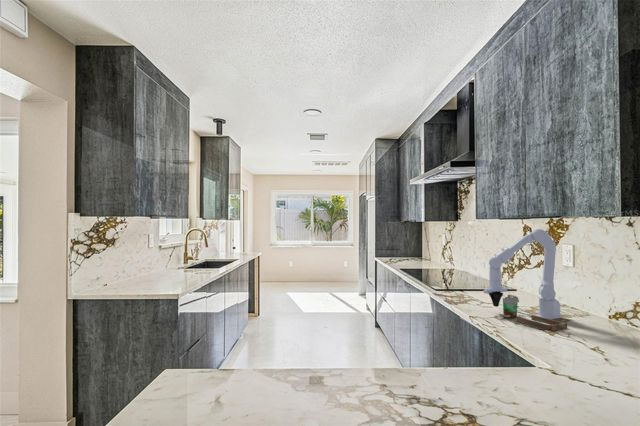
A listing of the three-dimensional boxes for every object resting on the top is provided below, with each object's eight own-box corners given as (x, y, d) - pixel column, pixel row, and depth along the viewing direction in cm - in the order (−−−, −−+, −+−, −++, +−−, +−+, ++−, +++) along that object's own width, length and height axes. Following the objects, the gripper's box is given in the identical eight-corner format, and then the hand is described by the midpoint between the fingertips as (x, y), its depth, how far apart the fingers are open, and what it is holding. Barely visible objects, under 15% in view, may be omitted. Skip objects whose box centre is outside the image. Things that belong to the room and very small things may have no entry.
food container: (516, 320, 183) (516, 299, 184) (502, 318, 187) (502, 298, 187) (521, 315, 193) (521, 295, 193) (508, 313, 197) (507, 294, 197)
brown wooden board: (532, 319, 186) (532, 315, 186) (567, 327, 170) (567, 323, 170) (516, 321, 182) (516, 317, 182) (550, 330, 166) (550, 326, 166)
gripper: (499, 278, 206) (499, 303, 206) (479, 280, 201) (479, 306, 200) (510, 280, 200) (510, 306, 199) (489, 282, 194) (490, 308, 194)
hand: (495, 306), depth 199 cm, fingers closed
